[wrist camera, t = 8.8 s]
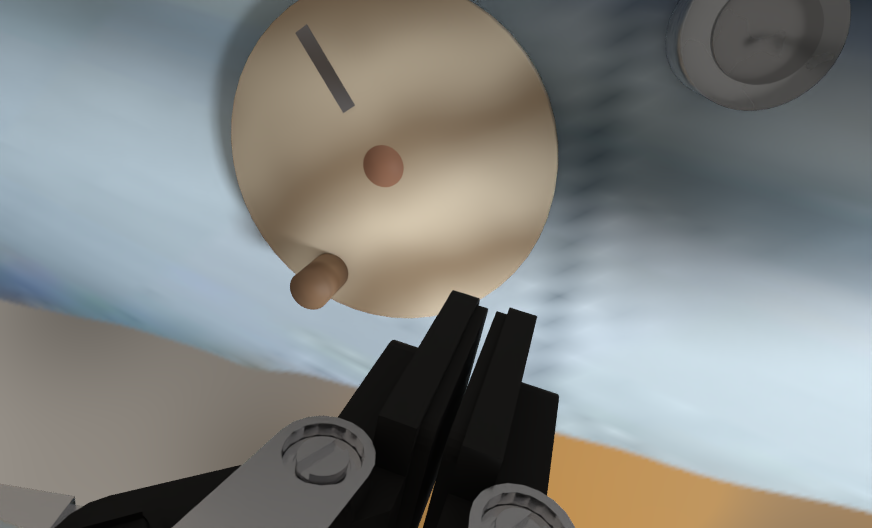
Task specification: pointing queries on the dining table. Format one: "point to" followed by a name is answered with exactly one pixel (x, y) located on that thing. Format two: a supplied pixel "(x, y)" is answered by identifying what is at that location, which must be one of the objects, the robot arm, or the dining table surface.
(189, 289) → the dining table surface
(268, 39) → the turntable
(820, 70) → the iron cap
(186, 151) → the dining table surface
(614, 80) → the dining table surface
